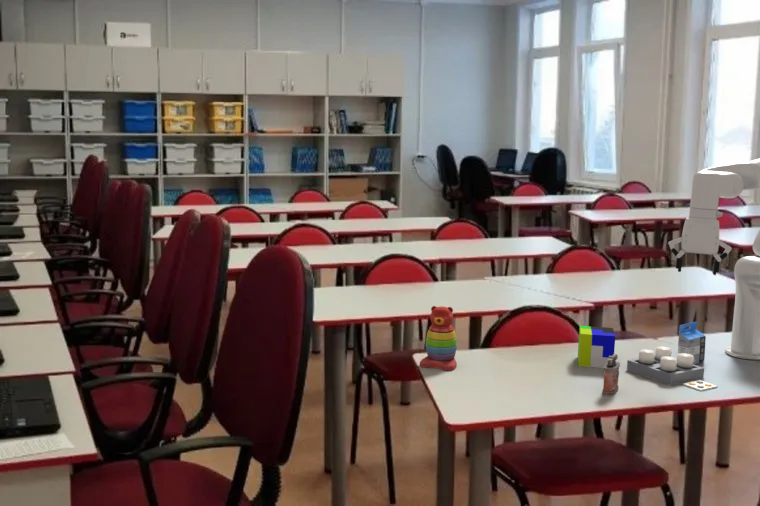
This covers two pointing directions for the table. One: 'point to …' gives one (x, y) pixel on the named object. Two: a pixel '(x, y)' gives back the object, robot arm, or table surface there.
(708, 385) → the pattern card
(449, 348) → the stacking bear
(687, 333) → the label tape box
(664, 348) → the button
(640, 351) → the button
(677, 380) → the button board
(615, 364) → the lighter
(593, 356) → the puzzle toy
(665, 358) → the button
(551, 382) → the table surface
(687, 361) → the button
